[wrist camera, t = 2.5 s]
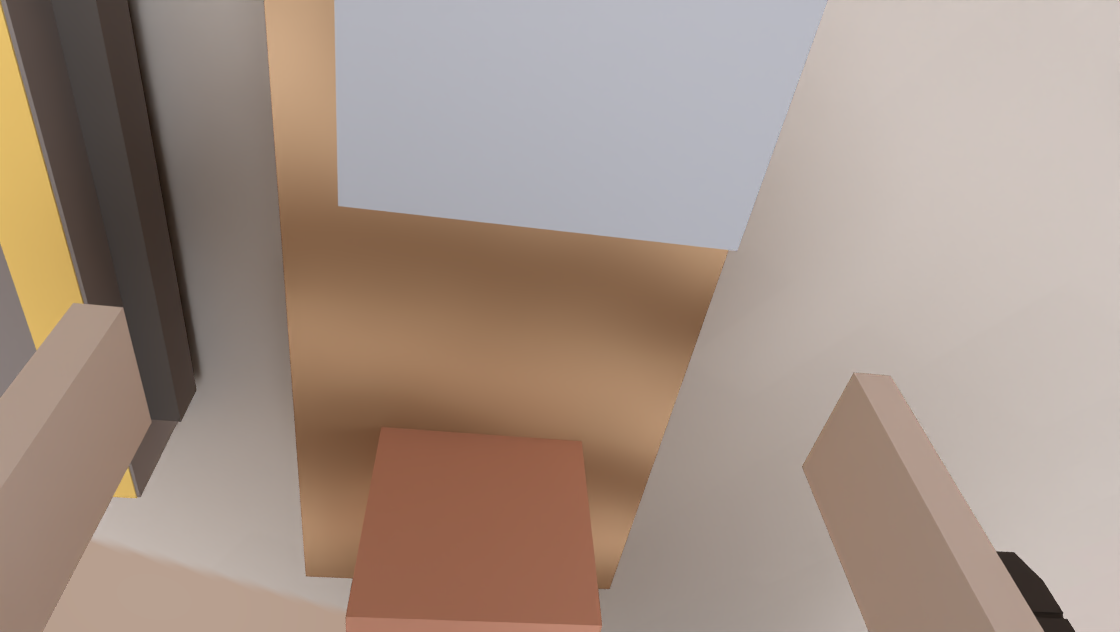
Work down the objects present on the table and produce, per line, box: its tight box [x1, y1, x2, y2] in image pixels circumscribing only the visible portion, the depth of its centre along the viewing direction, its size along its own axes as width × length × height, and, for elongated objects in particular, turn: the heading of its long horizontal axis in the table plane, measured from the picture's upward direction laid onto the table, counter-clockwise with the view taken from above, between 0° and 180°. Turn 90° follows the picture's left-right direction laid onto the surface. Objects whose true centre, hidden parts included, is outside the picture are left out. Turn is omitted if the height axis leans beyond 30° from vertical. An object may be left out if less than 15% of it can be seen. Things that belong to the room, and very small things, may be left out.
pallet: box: [264, 0, 729, 589], centre depth 20 cm, size 24×10×7 cm, turn 171°
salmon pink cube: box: [346, 427, 602, 632], centre depth 20 cm, size 6×6×6 cm
